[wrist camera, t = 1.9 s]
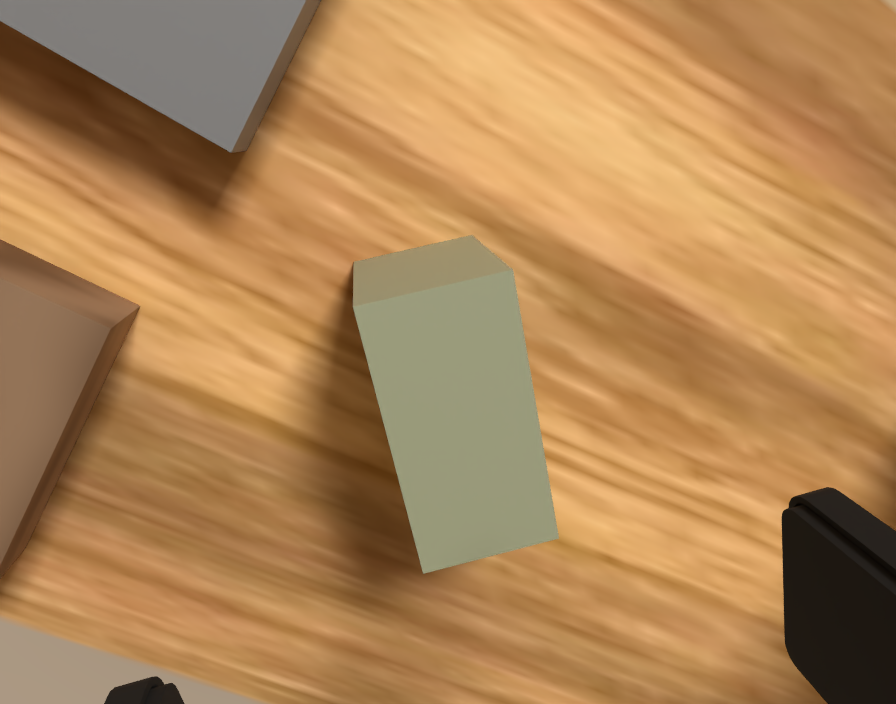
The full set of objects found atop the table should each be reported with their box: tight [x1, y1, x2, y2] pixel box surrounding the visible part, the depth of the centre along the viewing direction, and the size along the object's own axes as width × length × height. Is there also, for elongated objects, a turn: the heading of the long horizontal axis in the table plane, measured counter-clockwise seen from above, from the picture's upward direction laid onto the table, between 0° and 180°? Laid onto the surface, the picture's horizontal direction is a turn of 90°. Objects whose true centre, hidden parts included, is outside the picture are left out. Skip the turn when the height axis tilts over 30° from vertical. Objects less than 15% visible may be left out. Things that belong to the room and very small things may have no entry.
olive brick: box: [353, 235, 559, 574], centre depth 20 cm, size 4×8×6 cm, turn 11°
